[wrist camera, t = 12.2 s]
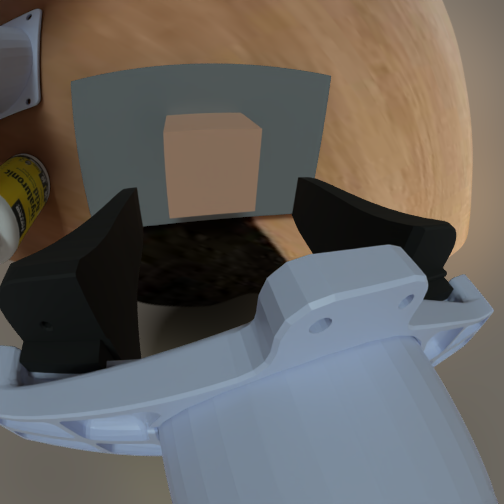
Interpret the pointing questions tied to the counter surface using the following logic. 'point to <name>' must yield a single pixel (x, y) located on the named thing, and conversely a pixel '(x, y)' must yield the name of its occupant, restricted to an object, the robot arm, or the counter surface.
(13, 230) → the supplement bottle
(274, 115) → the slate board
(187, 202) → the terracotta cube
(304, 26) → the counter surface
